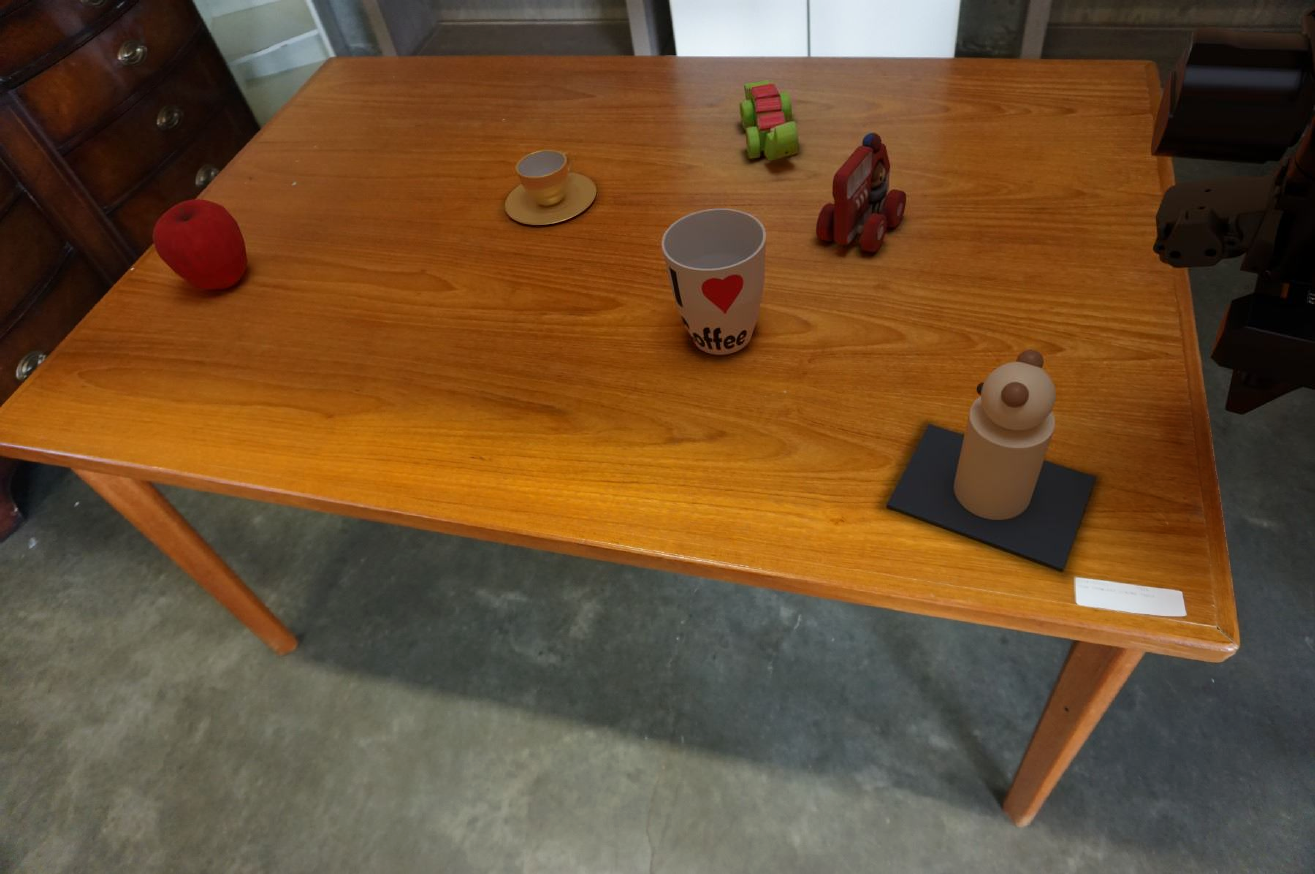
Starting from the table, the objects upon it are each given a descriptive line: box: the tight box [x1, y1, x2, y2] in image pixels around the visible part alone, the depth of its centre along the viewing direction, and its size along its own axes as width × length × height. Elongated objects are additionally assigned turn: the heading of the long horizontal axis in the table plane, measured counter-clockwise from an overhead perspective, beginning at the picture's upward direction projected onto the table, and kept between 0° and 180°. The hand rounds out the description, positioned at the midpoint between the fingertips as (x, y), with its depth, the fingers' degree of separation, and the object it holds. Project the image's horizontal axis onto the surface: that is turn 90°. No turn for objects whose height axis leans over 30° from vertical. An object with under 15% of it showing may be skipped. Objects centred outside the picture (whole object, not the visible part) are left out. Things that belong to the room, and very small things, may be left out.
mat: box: [886, 423, 1097, 573], centre depth 69 cm, size 14×10×1 cm
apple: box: [151, 198, 248, 290], centre depth 102 cm, size 10×10×11 cm
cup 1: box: [504, 149, 597, 226], centre depth 106 cm, size 12×12×5 cm
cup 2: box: [661, 208, 767, 356], centre depth 82 cm, size 10×10×12 cm
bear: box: [954, 349, 1057, 520], centre depth 64 cm, size 6×6×14 cm
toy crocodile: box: [739, 79, 800, 161], centre depth 109 cm, size 20×7×6 cm, turn 2°
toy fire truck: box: [815, 132, 907, 253], centre depth 91 cm, size 7×12×10 cm, turn 146°
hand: (1244, 367), depth 58 cm, fingers open, 9 cm apart
